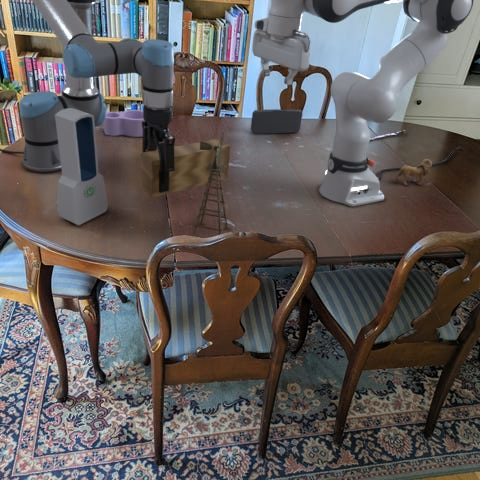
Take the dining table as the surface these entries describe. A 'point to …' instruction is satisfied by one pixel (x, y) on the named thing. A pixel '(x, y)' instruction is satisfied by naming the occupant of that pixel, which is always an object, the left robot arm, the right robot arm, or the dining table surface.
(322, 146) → the dining table surface
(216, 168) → the miniature windmill
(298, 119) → the handheld gaming console
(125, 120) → the purple double bowl
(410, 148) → the dining table surface
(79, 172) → the electronic device
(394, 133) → the sword
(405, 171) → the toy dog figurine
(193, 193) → the dining table surface
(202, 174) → the box
